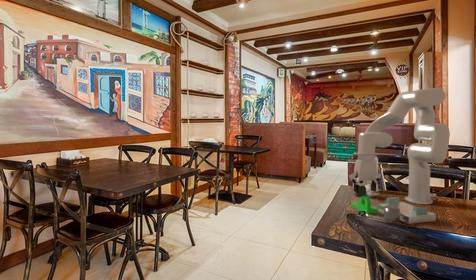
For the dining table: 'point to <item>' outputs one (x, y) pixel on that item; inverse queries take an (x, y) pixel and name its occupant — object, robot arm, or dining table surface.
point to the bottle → (368, 186)
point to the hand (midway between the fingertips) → (364, 191)
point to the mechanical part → (364, 205)
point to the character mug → (362, 188)
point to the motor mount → (405, 212)
